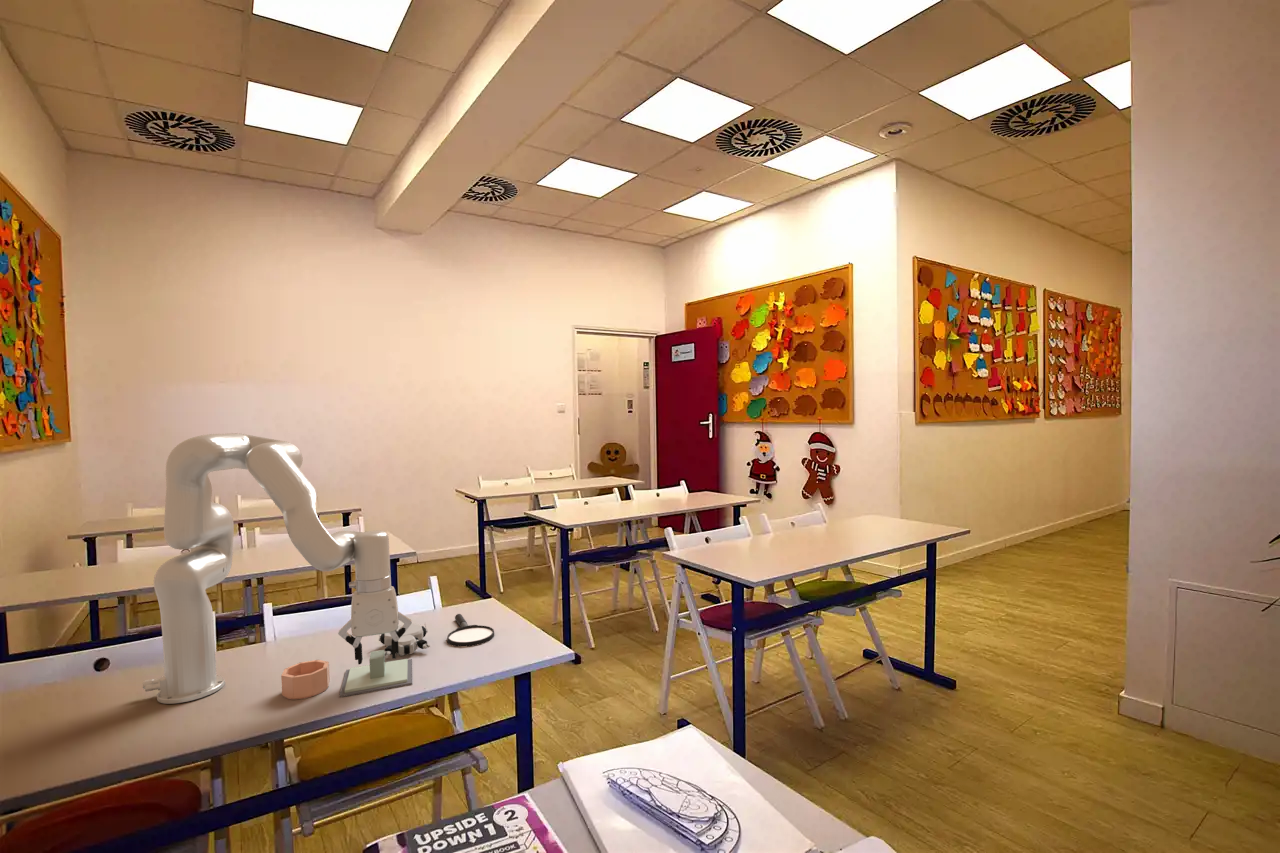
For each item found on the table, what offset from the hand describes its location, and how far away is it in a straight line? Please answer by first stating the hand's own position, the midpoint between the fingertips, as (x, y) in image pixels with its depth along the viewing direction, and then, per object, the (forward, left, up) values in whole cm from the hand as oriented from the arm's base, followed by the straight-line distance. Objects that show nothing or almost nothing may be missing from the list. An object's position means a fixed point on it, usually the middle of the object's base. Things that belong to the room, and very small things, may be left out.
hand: (377, 658), depth 144 cm
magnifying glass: (+22, +23, -5) cm, 32 cm away
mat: (0, 0, -4) cm, 4 cm away
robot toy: (+6, +17, -5) cm, 19 cm away
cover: (0, 0, -4) cm, 4 cm away
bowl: (-15, 0, -4) cm, 16 cm away
